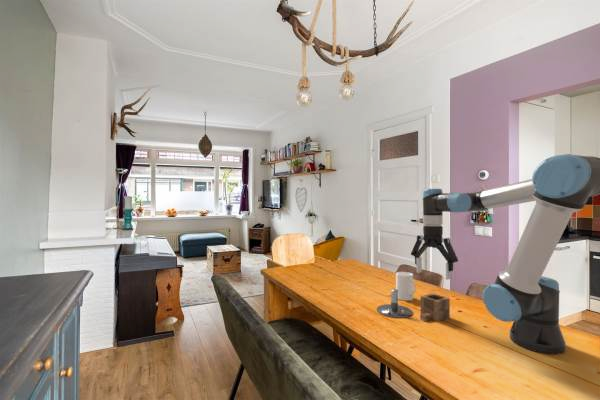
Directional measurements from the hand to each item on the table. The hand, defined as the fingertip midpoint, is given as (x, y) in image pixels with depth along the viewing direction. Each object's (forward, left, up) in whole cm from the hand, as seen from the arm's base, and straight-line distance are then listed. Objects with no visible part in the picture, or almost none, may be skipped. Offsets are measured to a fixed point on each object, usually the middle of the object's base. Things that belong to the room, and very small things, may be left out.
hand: (433, 275), depth 130 cm
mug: (+21, -4, -17) cm, 27 cm away
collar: (-1, +2, -17) cm, 17 cm away
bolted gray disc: (+10, +12, -17) cm, 23 cm away
